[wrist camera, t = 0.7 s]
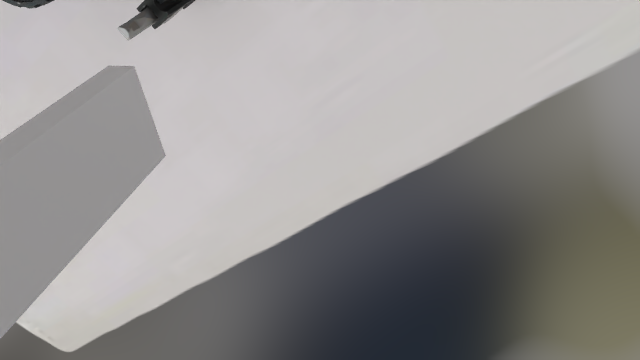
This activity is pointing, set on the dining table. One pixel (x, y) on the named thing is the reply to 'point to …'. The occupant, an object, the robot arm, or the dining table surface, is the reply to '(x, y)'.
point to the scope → (155, 10)
